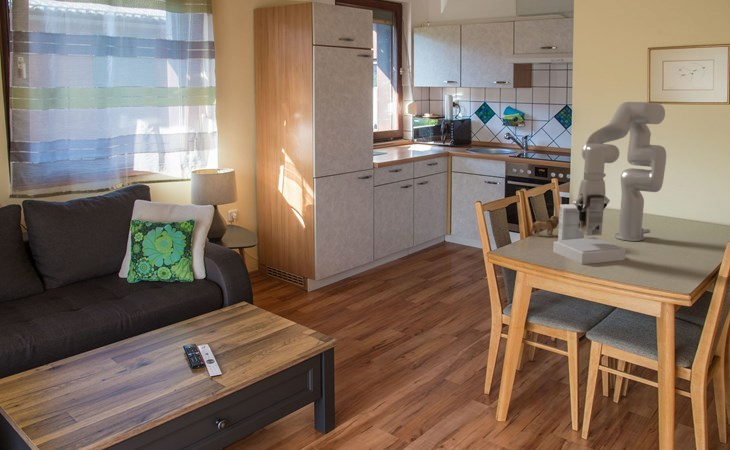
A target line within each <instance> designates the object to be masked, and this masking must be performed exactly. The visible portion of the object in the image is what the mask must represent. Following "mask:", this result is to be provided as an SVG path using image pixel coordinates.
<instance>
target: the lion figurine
mask: <svg viewBox="0 0 730 450" xmlns="http://www.w3.org/2000/svg"><path fill="white" fill-rule="evenodd" d="M558 226H559V216H557V215H552V216H551V217H550V218H549V219H548V220H546V221H539V220H537V221H535V222H533V224H532V225H531V228H530V232H529V233H528V235H529V236H534V233H533V232H534V231H536V232H535V233H536V235H537V236H538V237H542V235H541V234H540V230H542V231H543V230H544V231H546V230H547V231H546V235H548V236H549V235H550V236H551V237H554V234H553V233H554V230H555V229H556V228H558Z"/></svg>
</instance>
